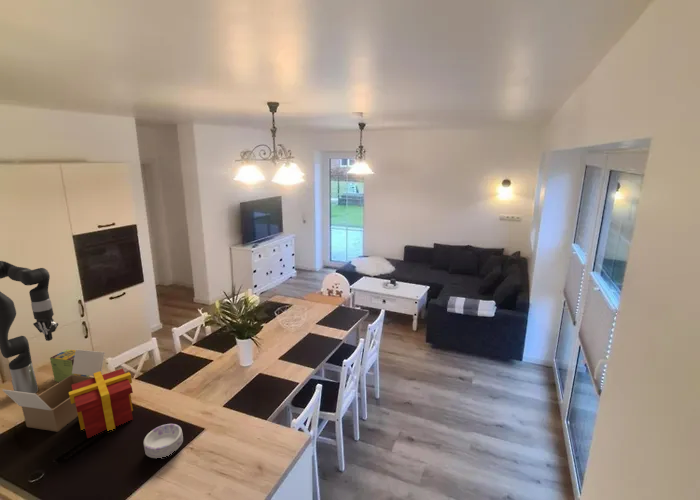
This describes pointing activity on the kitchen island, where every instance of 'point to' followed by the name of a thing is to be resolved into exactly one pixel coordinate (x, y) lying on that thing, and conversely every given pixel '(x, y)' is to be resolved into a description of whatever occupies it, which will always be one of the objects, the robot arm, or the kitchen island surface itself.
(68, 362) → the protein box
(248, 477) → the kitchen island surface
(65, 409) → the carton
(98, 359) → the far flap
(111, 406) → the gift box
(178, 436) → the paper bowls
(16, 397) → the near flap
